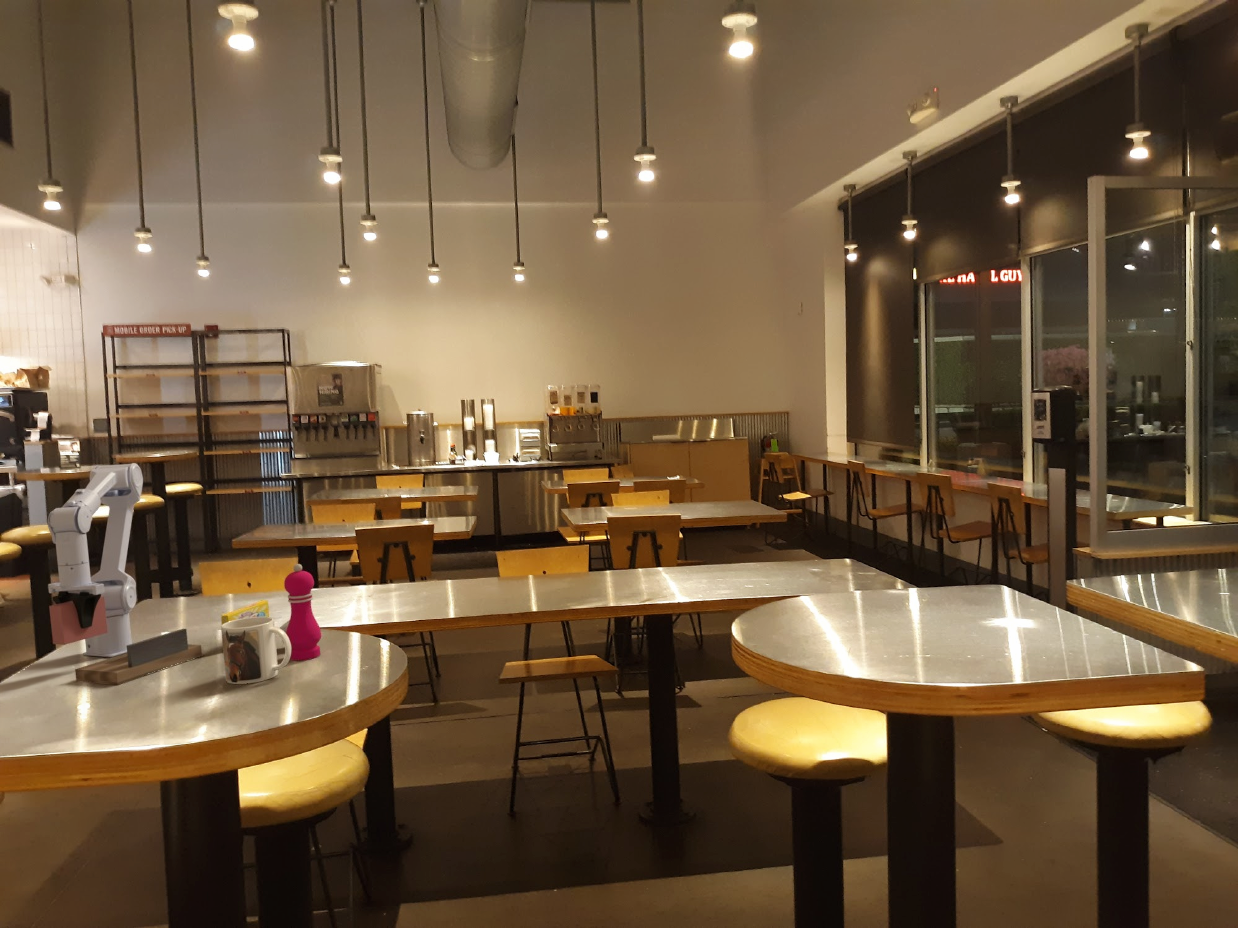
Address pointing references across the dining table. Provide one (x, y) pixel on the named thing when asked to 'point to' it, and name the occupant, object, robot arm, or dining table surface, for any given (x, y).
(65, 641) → the pink rectangular block
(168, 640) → the dark gray flat bar
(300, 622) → the pepper mill
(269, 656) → the mug
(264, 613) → the candy box
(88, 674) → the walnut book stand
